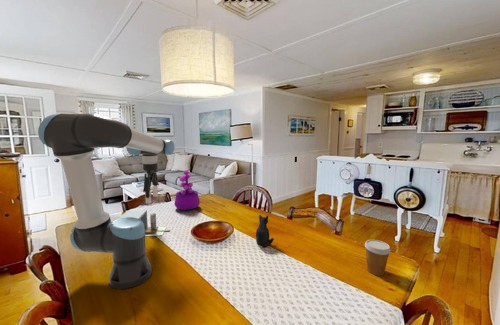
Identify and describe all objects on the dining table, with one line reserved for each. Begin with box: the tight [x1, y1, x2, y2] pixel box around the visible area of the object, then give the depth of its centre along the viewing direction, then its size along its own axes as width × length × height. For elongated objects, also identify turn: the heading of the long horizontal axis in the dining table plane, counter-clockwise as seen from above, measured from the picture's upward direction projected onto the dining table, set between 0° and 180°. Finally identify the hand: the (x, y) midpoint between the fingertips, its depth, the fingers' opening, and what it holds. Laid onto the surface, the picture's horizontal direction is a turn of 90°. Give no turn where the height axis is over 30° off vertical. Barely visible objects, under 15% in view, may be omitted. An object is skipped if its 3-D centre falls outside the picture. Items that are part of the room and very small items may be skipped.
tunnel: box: [117, 209, 171, 233], centre depth 132 cm, size 14×33×11 cm, turn 97°
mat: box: [145, 226, 168, 237], centre depth 134 cm, size 11×10×1 cm
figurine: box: [255, 214, 275, 248], centre depth 118 cm, size 10×10×15 cm
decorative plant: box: [174, 169, 201, 211], centre depth 173 cm, size 19×18×30 cm
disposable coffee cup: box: [364, 239, 392, 277], centre depth 95 cm, size 10×10×12 cm
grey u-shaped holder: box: [140, 212, 159, 234], centre depth 132 cm, size 7×16×10 cm, turn 97°
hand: (152, 199), depth 131 cm, fingers open, 13 cm apart
